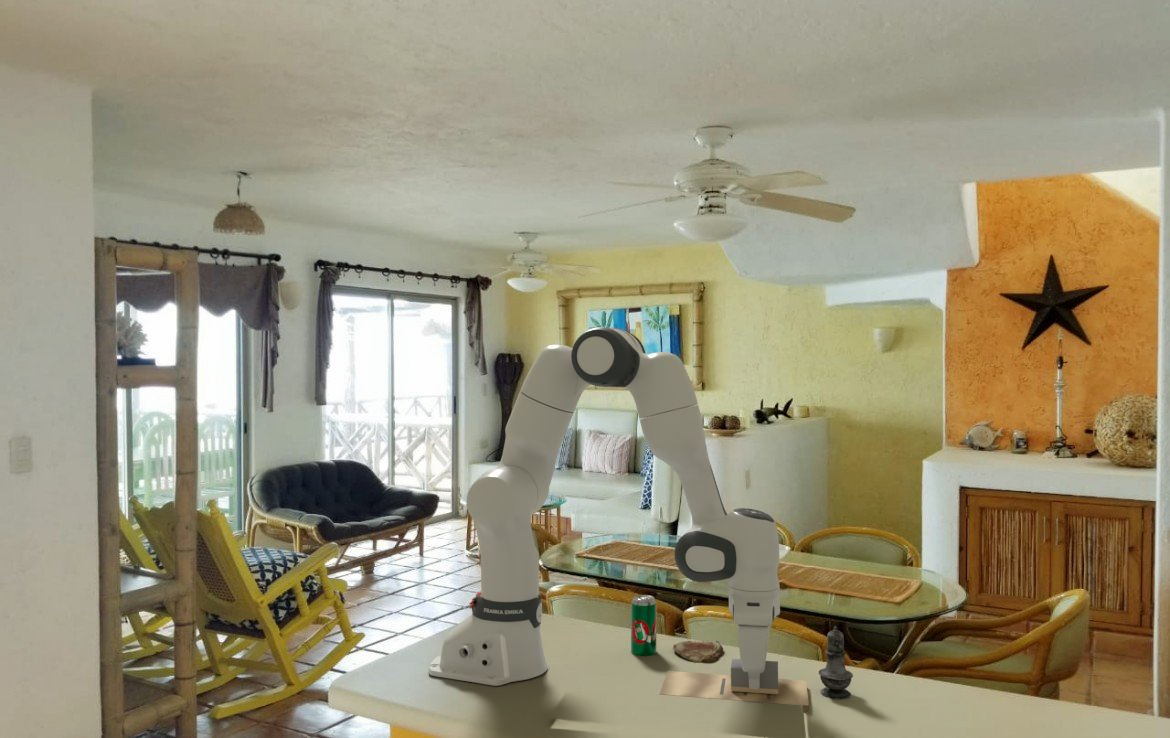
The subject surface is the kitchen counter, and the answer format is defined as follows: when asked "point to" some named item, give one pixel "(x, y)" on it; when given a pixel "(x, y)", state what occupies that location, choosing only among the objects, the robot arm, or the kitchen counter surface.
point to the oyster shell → (699, 651)
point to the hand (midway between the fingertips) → (754, 681)
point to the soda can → (643, 625)
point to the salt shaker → (835, 668)
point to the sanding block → (766, 678)
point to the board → (721, 689)
